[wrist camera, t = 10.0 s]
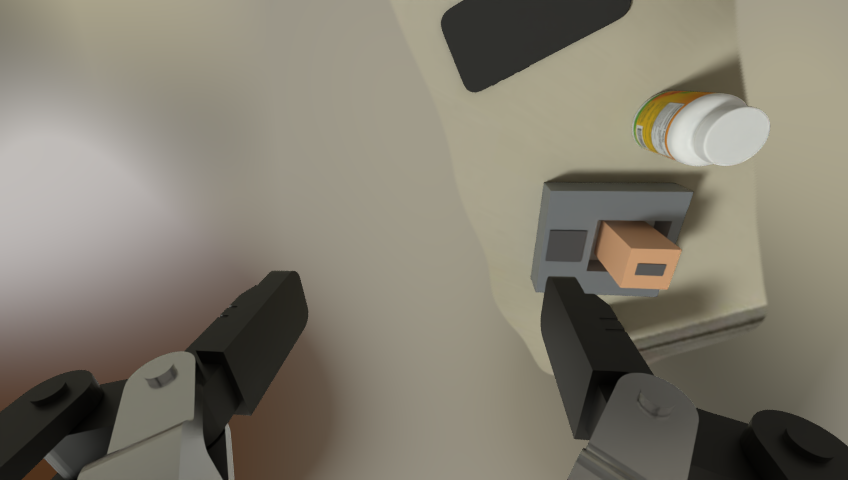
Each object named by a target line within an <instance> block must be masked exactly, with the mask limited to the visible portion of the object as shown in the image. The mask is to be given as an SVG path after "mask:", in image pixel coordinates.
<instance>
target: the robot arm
mask: <svg viewBox="0 0 848 480" xmlns="http://www.w3.org/2000/svg"><path fill="white" fill-rule="evenodd" d="M307 319H308V307H307V303H306V299H305V296H304V292H303V288H302V284H301V280H300V276H299V274H298V273H297V272H296V271H271V272H270V273H269V274H268V275H267V276H266V277H265V278H264V279H263V280H262V281H261V282H260V283H259V284H258V285H255V286H254V287H252V288H251V289H249V290H247V291H246V292H244V293H242V294H241V295H240V296H239V297H238V298H237V299H236V300H235V301H234V302H233V303H232V304H231V305H230V307H229V308H227V309H226V310H225V311H224V312H223V313H222V314H221V315H220V318H219V317H218V318H217V319H216V320H215V321H214V322H213V323H212V324H211V325H210V326H209V327H208V328H207V329H206V330H205V331H204V332H203V333H202V334H201V335H200V336H199V337H198V338H197V339H196V340H195V341H194V342H193V343H192V344H191V345H190V346H189V347H188V348H187V349H186V350H185V351H184V352H173V353H169V354H165V355H163V356H160V357H158V358H156V359H153V360H152V361H150V362H148V363H146V364H145V365H143V366H142V367H141V368H139V369H138V370H137V371H136V372H135V373H134V374H133V375H132V376H131V377H130V378H129V379H126V380H121V381H116V382H111V383H106V384H101V385H99V383H98V382H97V380H96V379H95V378H94V376H93V375H92V373H90V372H89V371H86V370H76V371H70V372H67V373H63V374H60V375H58V376H55V377H53V378H50V379H48V380H46V381H44V382H42V383H40V384H39V385H37V386H35V387H34V388H32V389H30V390H29V391H27V392H26V393H25V394H23V395H22V396H21V397H19V398H18V399H17V400H15V401H14V402H13V403H12V404H10V405H9V406H8V407H6V408H5V409H4V410H2V411H1V412H0V480H21V479H22V478H24V477H25V475H26V474H27V473H29V472H30V471H31V470H32V469H33V468H34V467H35V465H37V464H38V463H39V462H40V461H41V460H42V459H43V458H44V459H45V460H46V461H47V462H48V463H49V464H50V465H51V466H52V467H53V468H54V469H55V470H56V471H57V472H58V473H57V474H56V475H55V476H54V477H53V478H52V480H234V470H233V457H232V445H231V432H230V428H229V426H228V424H227V423H228V422H229V420H230V419H231V417H232V416H233V414H237V415H250V416H251V415H252V413H253V411H254V410H255V408H256V407H257V405H258V404H259V402H260V400H261V399H262V397H263V395H264V394H265V392H266V390H267V389H268V387H269V385H270V384H271V382H272V381H273V379H274V377H275V375H276V374H277V372H278V371H279V369H280V367H281V366H282V364H283V362H284V361H285V359H286V358H287V356H288V354H289V353H290V351H291V349H292V348H293V346H294V344H295V343H296V341H297V340H298V338H299V336H300V335H301V333H302V331H303V330H304V328H305V326H306V323H307ZM541 332H542V337H543V340H544V343H545V347H546V350H547V353H548V356H549V360H550V363H551V366H552V369H553V372H554V376H555V379H556V382H557V385H558V388H559V391H560V395H561V398H562V401H563V404H564V407H565V411H566V414H567V417H568V420H569V424H570V427H571V430H572V433H573V436H574V439H581V440H582V439H583V440H590V441H589V443H588V445H587V447H586V449H585V448H583V449H582V451H581V453H580V454H579V456H578V458H577V461H576V462H575V464H574V466H573V469H572V471H571V473H570V475H569V477H568V479H567V480H848V446H847V445H845V444H844V443H843V442H842V441H841V440H839V439H838V438H837V437H835V436H834V435H833V434H831V433H830V432H828V431H826V430H825V429H823V428H822V427H820V426H818V425H816V424H814V423H812V422H810V421H808V420H806V419H804V418H801V417H799V416H796V415H793V414H790V413H786V412H783V411H777V410H763V411H760V412H757V413H756V414H755V415H754V416H753V418H752V419H751V421H750V422H749V424H747V423H743V422H740V421H737V420H734V419H730V418H727V417H724V416H720V415H717V414H713V413H710V412H707V411H704V410H701V409H698V408H696V407H695V406H694V404H693V403H692V401H691V400H690V399H689V398H688V397H687V396H686V395H685V394H684V393H683V392H682V391H681V390H680V389H678V388H677V387H676V386H674V385H673V384H671V383H669V382H667V381H666V380H664V379H661V378H659V377H656V376H654V375H653V373H652V371H651V370H650V369H649V367H648V365H647V364H646V362H645V360H644V359H643V357H642V356H641V354H640V353H639V351H638V350H637V348H636V346H635V345H634V343H633V342H632V340H631V339H630V337H629V336H628V334H627V332H625V329H624V328H623V326H622V325H621V323H620V321H618V320H617V317H616V315H615V314H614V312H613V311H612V309H611V307H610V306H609V305H608V304H607V303H606V302H604V301H603V300H602V299H601V298H599V297H598V296H597V295H595V294H586V293H585V292H584V291H583V289H582V287H581V285H580V284H579V282H578V280H577V279H576V277H567V276H549V277H548V278H547V280H546V286H545V292H544V299H543V306H542V312H541Z"/></svg>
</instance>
